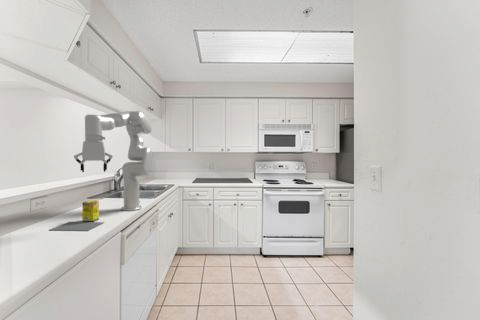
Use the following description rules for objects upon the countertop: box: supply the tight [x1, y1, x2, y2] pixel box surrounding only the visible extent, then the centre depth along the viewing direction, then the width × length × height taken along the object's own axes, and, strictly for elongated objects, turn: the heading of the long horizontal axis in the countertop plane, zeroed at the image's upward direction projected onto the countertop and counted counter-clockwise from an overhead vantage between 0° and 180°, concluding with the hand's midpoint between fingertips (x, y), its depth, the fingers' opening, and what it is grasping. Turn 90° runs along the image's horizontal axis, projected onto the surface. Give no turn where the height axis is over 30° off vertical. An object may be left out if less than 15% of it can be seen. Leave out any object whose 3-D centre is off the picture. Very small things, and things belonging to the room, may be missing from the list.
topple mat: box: [49, 221, 105, 232], centre depth 125 cm, size 14×19×1 cm
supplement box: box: [81, 199, 100, 222], centre depth 135 cm, size 6×6×11 cm
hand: (94, 171), depth 128 cm, fingers open, 9 cm apart
